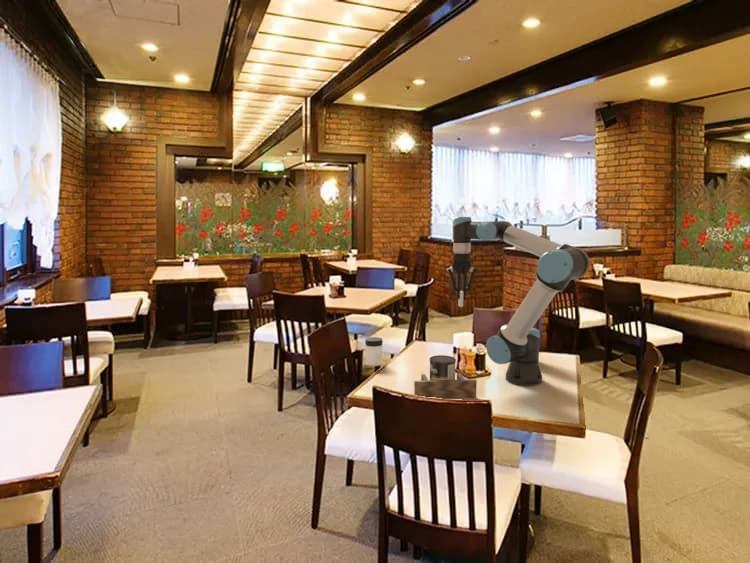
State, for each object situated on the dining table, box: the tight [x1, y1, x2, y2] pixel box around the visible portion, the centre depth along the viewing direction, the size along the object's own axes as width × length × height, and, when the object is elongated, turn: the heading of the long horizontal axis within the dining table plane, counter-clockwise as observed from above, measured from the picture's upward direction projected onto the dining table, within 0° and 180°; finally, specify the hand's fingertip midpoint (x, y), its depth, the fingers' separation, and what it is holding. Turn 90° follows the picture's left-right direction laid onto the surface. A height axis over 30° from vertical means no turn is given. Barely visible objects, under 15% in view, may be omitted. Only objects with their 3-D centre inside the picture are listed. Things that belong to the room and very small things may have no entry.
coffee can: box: [429, 354, 457, 380], centre depth 210 cm, size 10×10×14 cm
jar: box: [364, 336, 384, 367], centre depth 251 cm, size 9×8×12 cm
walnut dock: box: [413, 372, 478, 399], centre depth 209 cm, size 24×10×7 cm, turn 94°
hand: (460, 306), depth 232 cm, fingers closed
